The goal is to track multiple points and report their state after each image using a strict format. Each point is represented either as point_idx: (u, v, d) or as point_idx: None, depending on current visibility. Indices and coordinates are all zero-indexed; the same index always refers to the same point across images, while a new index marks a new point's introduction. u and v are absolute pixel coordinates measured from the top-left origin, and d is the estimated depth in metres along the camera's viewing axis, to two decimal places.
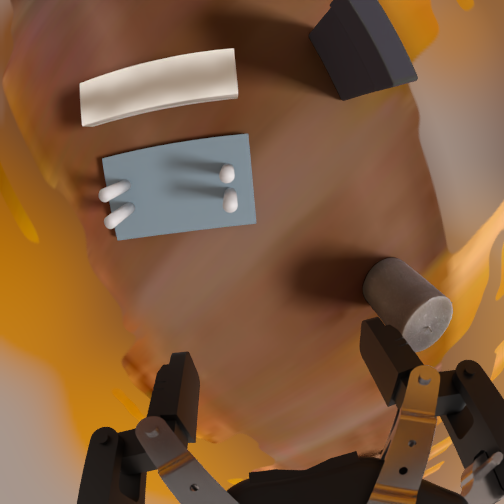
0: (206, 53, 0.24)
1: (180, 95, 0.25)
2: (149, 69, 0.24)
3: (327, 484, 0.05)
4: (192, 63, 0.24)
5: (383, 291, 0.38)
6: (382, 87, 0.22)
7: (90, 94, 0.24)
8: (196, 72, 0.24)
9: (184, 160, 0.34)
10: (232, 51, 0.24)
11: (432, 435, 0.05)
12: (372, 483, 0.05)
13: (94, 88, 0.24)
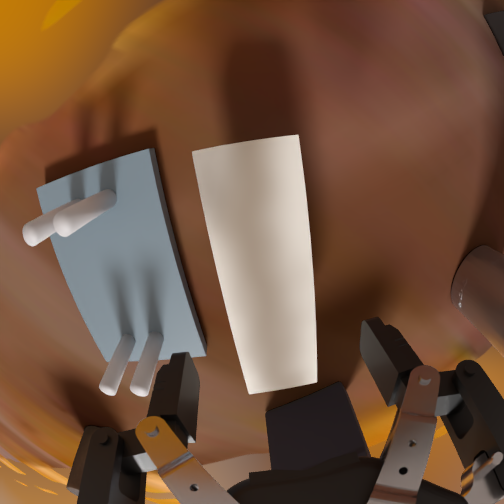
0: (312, 359, 0.19)
1: (243, 339, 0.18)
2: (297, 289, 0.17)
3: (327, 484, 0.05)
4: (297, 346, 0.19)
5: None
6: None
7: (265, 166, 0.14)
8: (283, 353, 0.19)
9: (156, 288, 0.24)
10: (312, 382, 0.20)
11: (432, 435, 0.05)
12: (372, 483, 0.05)
13: (278, 175, 0.14)
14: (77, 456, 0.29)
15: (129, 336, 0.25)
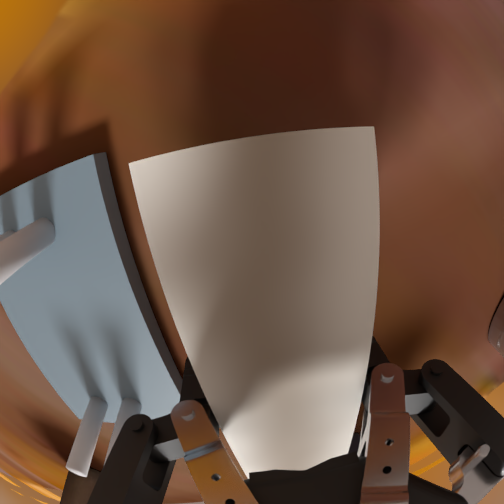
0: None
1: (247, 452, 0.10)
2: (336, 399, 0.09)
3: (327, 484, 0.05)
4: (324, 451, 0.11)
5: (85, 498, 0.21)
6: None
7: (301, 197, 0.06)
8: (303, 458, 0.11)
9: (123, 352, 0.16)
10: None
11: (408, 430, 0.06)
12: None
13: (329, 216, 0.06)
14: (63, 496, 0.20)
15: (99, 400, 0.17)
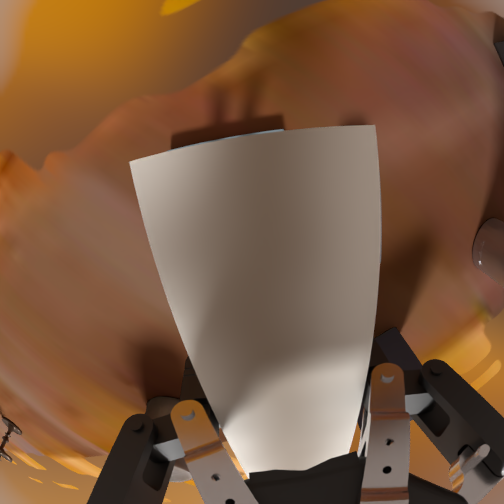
0: None
1: (248, 452, 0.10)
2: (337, 399, 0.09)
3: (327, 484, 0.05)
4: (325, 450, 0.11)
5: None
6: (359, 421, 0.28)
7: (302, 195, 0.06)
8: (303, 458, 0.11)
9: None
10: None
11: (408, 430, 0.06)
12: None
13: (330, 214, 0.06)
14: None
15: None
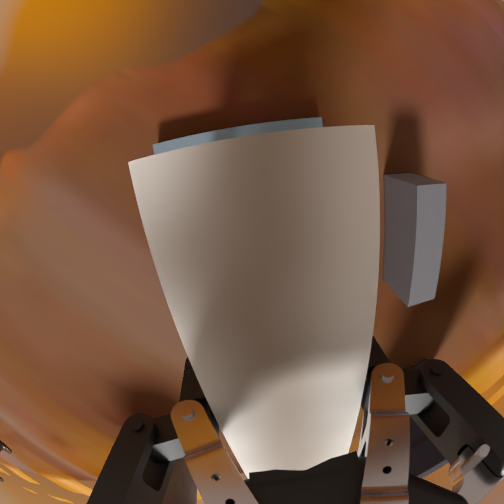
0: None
1: (247, 452, 0.10)
2: (336, 399, 0.09)
3: (327, 484, 0.05)
4: (324, 451, 0.11)
5: None
6: None
7: (301, 196, 0.06)
8: (303, 458, 0.11)
9: None
10: None
11: (408, 430, 0.06)
12: None
13: (329, 215, 0.06)
14: None
15: None
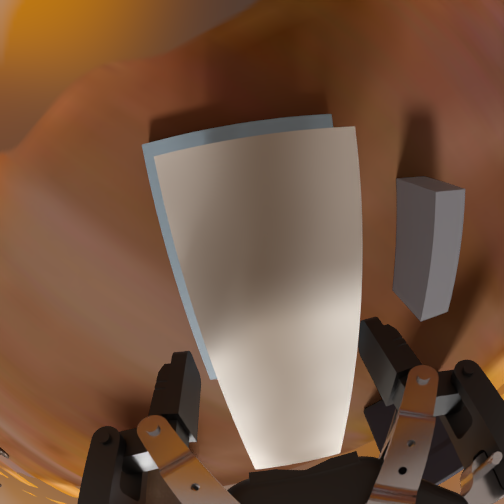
0: (338, 435, 0.13)
1: (250, 426, 0.11)
2: (331, 371, 0.10)
3: (327, 484, 0.05)
4: (322, 427, 0.12)
5: (167, 485, 0.26)
6: None
7: (294, 184, 0.07)
8: (302, 435, 0.12)
9: None
10: (334, 453, 0.14)
11: (431, 435, 0.05)
12: (372, 483, 0.05)
13: (318, 200, 0.08)
14: None
15: None
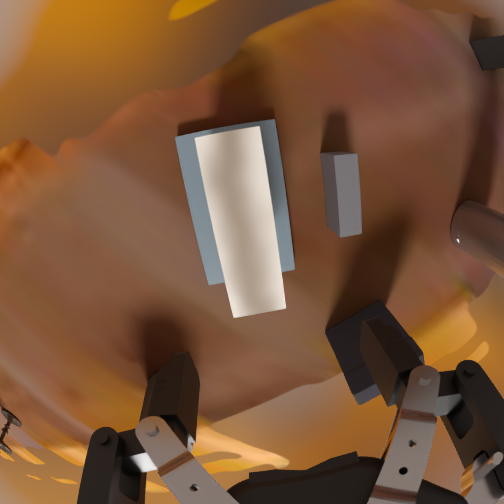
0: (279, 285, 0.28)
1: (228, 265, 0.26)
2: (263, 226, 0.25)
3: (327, 484, 0.05)
4: (267, 273, 0.27)
5: None
6: (349, 383, 0.33)
7: (239, 146, 0.22)
8: (257, 278, 0.27)
9: None
10: (282, 307, 0.29)
11: (432, 435, 0.05)
12: (372, 483, 0.05)
13: (247, 151, 0.23)
14: (148, 402, 0.40)
15: None
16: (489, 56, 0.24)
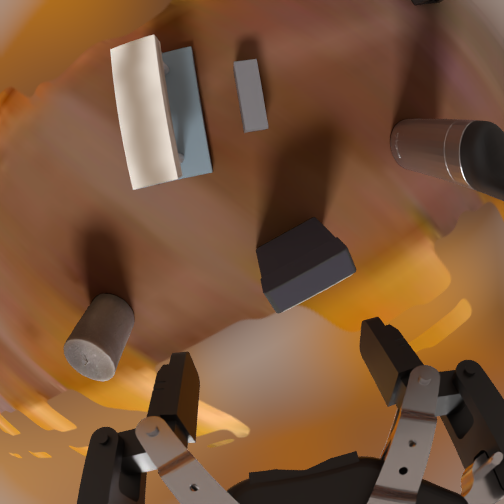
0: (170, 154, 0.28)
1: (127, 138, 0.27)
2: (154, 103, 0.26)
3: (327, 484, 0.05)
4: (158, 143, 0.28)
5: (103, 312, 0.42)
6: (263, 283, 0.34)
7: (139, 49, 0.23)
8: (150, 148, 0.28)
9: (185, 120, 0.36)
10: (174, 178, 0.30)
11: (432, 435, 0.05)
12: (372, 483, 0.05)
13: (144, 51, 0.23)
14: None
15: None
16: None
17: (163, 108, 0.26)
